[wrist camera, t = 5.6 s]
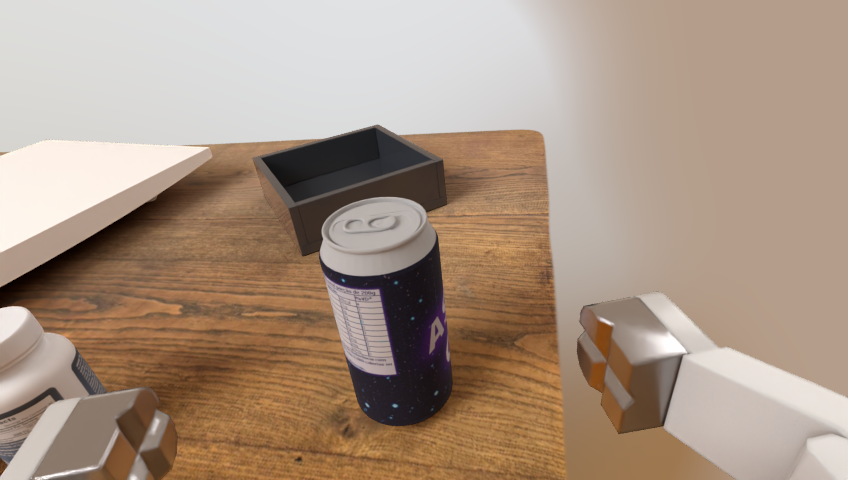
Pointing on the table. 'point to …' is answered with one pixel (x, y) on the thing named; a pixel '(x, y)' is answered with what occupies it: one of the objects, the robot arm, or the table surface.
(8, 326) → the pill bottle
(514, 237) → the table surface
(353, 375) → the beverage can
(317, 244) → the open box
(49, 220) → the board
